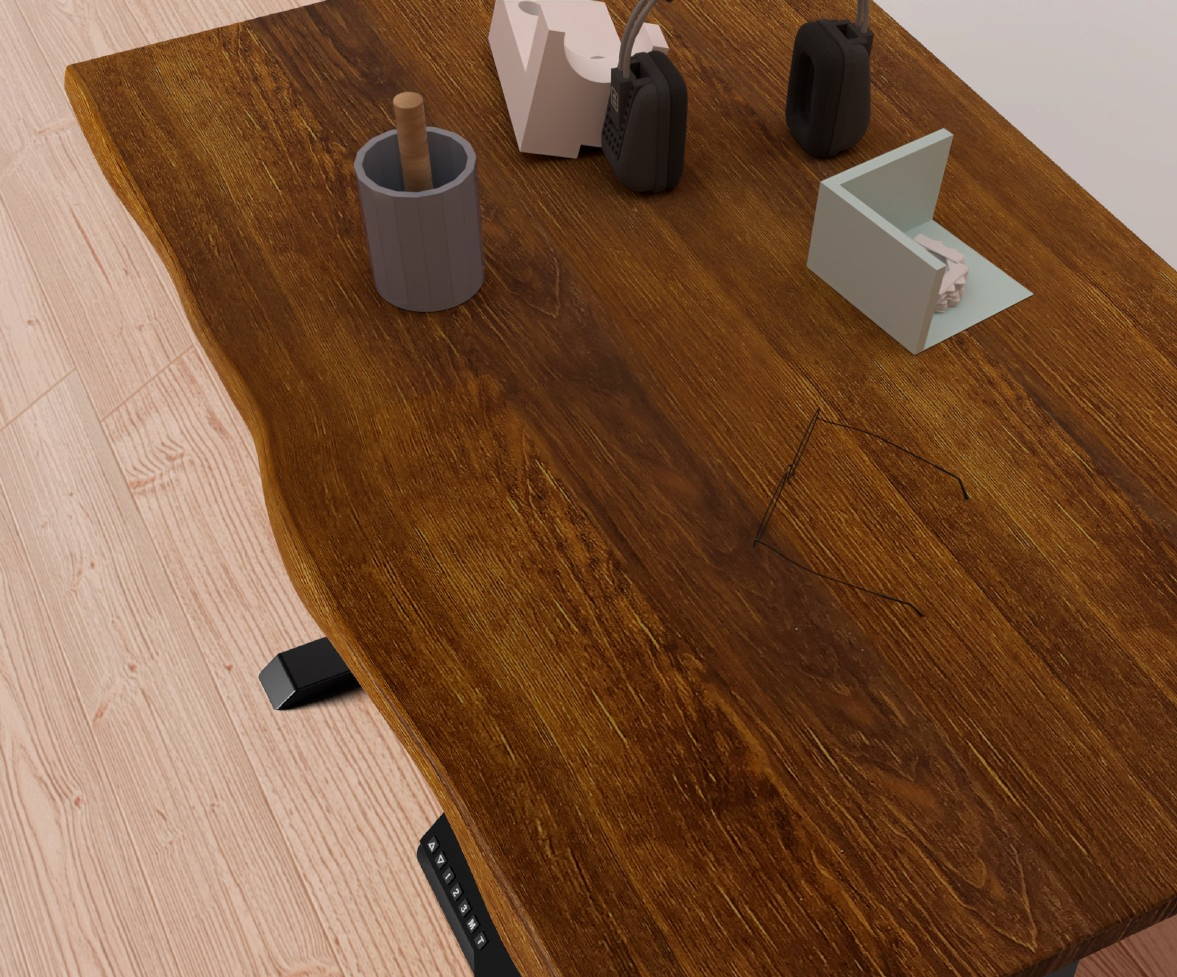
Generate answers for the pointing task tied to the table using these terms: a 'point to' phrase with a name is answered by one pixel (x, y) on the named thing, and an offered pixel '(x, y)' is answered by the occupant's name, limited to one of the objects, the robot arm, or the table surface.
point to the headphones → (660, 100)
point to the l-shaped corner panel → (904, 248)
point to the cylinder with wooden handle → (413, 141)
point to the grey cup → (422, 223)
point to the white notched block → (559, 69)
